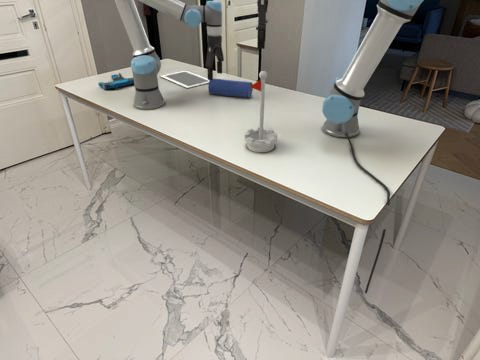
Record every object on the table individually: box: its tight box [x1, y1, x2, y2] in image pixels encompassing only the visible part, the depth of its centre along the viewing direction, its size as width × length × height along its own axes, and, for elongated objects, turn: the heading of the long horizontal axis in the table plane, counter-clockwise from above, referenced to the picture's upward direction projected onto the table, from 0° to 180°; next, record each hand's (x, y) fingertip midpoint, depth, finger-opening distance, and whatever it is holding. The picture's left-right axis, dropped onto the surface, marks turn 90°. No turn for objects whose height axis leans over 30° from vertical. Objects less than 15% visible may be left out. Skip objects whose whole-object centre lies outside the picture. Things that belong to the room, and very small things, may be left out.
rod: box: [207, 77, 254, 99], centre depth 186 cm, size 23×8×8 cm, turn 72°
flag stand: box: [244, 70, 278, 153], centre depth 129 cm, size 13×13×30 cm
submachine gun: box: [97, 74, 134, 90], centre depth 209 cm, size 34×4×25 cm
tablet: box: [159, 70, 210, 89], centre depth 214 cm, size 32×20×1 cm, turn 41°
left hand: (215, 76), depth 186 cm, fingers open, 13 cm apart
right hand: (261, 44), depth 132 cm, fingers open, 13 cm apart
